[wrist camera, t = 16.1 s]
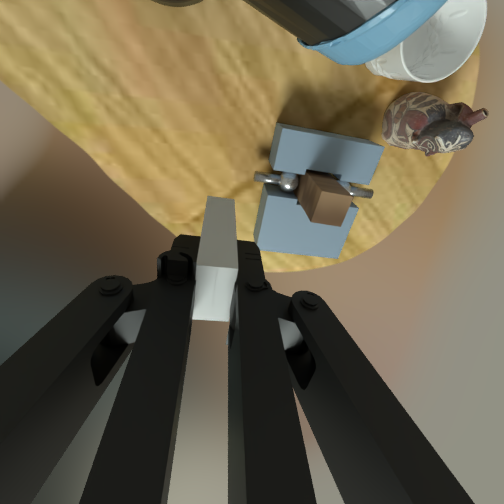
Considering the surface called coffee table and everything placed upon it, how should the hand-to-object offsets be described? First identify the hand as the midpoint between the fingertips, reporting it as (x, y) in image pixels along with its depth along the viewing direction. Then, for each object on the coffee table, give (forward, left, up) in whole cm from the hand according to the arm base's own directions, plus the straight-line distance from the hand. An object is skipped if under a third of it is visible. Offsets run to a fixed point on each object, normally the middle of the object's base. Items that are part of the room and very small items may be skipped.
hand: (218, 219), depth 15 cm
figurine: (-6, +25, -27) cm, 37 cm away
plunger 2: (+4, +20, -25) cm, 32 cm away
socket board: (+6, +14, -26) cm, 30 cm away
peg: (+4, +14, -26) cm, 30 cm away
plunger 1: (+4, +8, -25) cm, 27 cm away
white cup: (-14, +19, -27) cm, 36 cm away
